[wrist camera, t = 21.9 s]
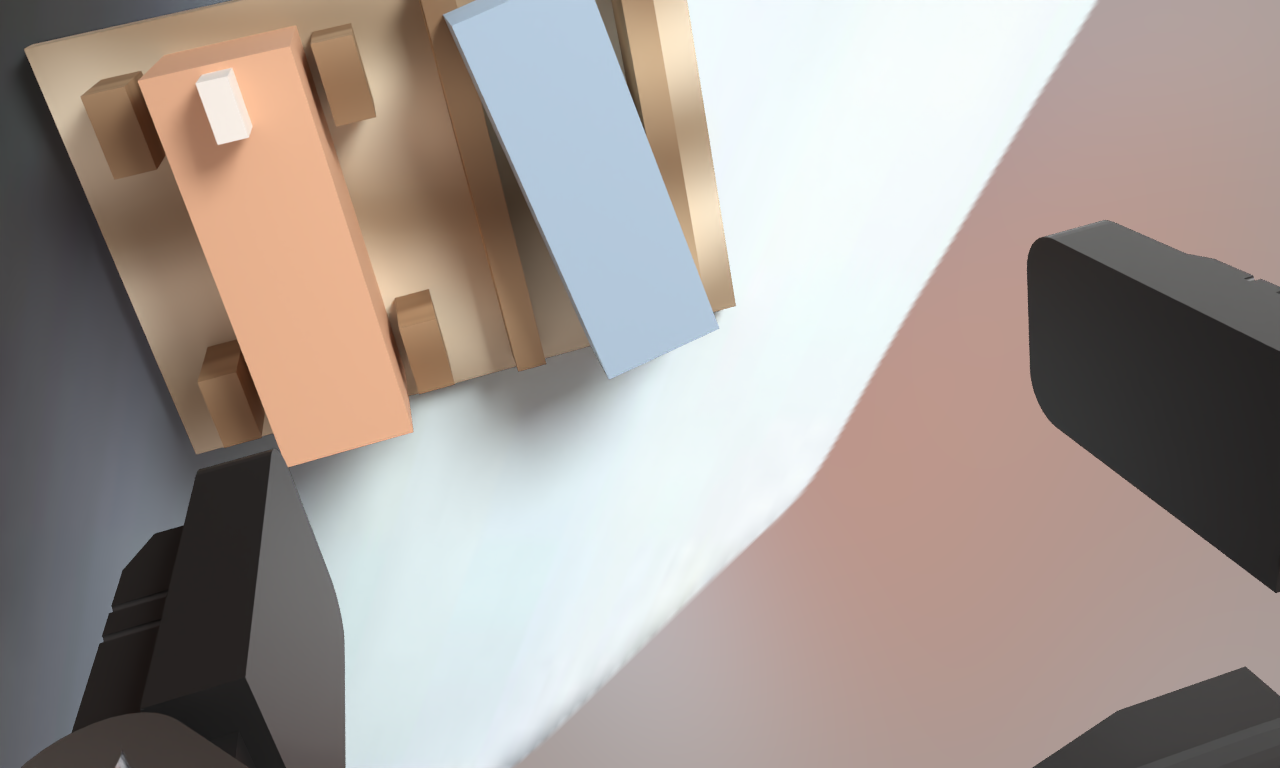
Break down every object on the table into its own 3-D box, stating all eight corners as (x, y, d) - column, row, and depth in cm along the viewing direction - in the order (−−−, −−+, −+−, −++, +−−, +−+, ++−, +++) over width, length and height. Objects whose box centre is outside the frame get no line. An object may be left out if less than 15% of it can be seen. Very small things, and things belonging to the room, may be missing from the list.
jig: (32, 44, 33) (-5, 63, 30) (663, -95, 36) (699, -93, 33) (199, 441, 40) (185, 496, 36) (727, 297, 42) (762, 334, 39)
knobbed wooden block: (164, 55, 34) (128, 90, 28) (296, 25, 34) (287, 53, 28) (292, 401, 39) (284, 491, 33) (405, 370, 39) (416, 453, 34)
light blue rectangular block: (442, 14, 33) (451, 25, 31) (563, -39, 34) (582, -32, 31) (590, 346, 39) (609, 379, 36) (693, 298, 39) (719, 328, 37)
